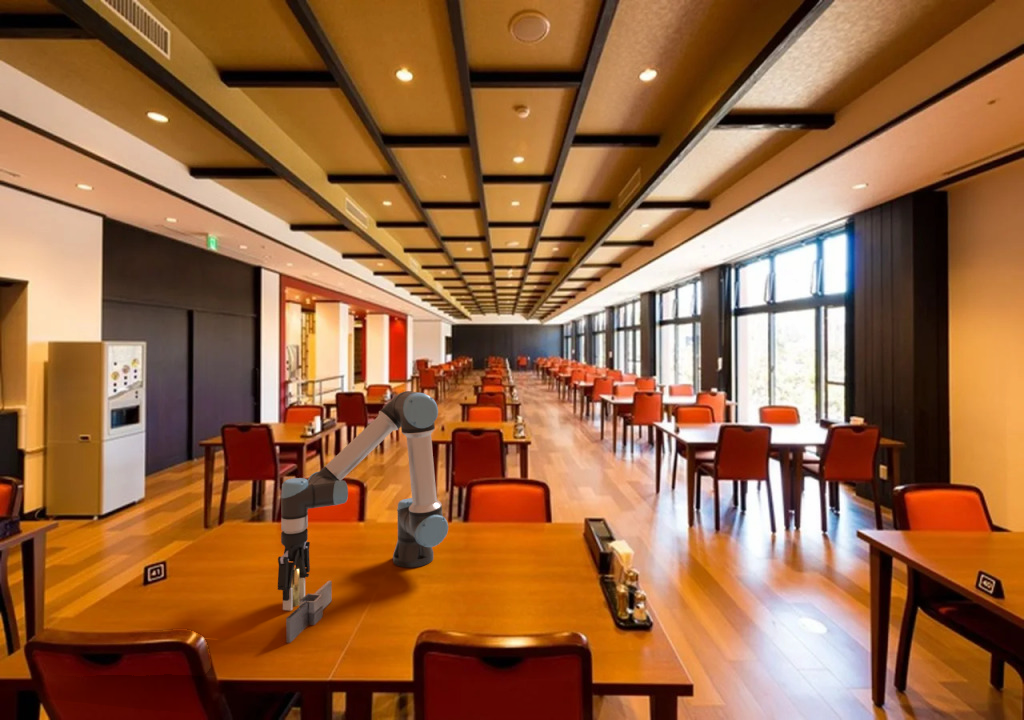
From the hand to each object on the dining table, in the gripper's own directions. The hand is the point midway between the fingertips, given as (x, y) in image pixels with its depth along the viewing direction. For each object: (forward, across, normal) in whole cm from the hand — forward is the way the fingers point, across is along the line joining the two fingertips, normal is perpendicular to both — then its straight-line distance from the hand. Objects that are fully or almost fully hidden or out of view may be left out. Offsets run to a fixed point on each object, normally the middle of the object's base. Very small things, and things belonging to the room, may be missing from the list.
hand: (294, 603), depth 152 cm
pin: (0, 0, 0) cm, 0 cm away
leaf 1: (0, +4, +10) cm, 11 cm away
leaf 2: (0, +12, +10) cm, 16 cm away
